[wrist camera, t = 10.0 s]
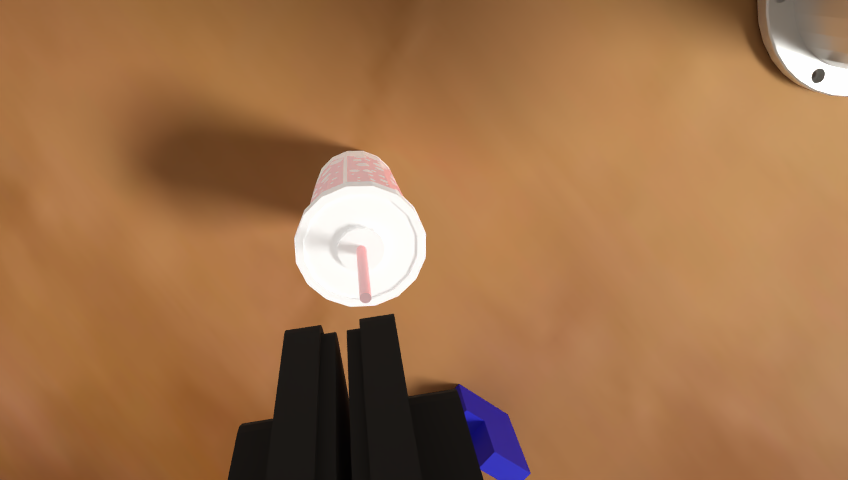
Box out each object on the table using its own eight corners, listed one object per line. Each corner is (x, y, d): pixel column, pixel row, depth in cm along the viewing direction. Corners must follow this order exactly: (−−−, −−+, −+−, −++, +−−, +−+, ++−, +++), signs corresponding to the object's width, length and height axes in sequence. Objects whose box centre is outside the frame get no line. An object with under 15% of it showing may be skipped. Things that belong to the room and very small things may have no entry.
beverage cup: (317, 247, 41) (308, 379, 28) (290, 149, 38) (267, 245, 25) (417, 225, 41) (454, 345, 28) (396, 126, 39) (427, 210, 26)
